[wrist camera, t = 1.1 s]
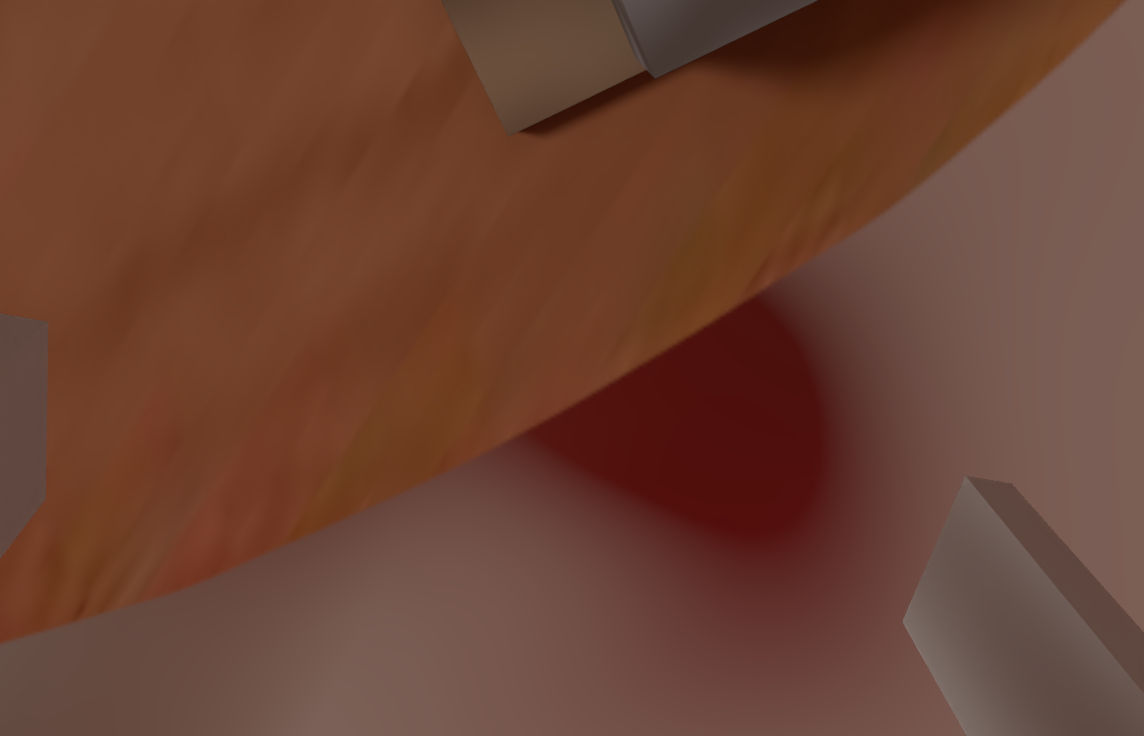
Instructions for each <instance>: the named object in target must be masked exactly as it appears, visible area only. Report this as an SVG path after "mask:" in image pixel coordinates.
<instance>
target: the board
mask: <svg viewBox="0 0 1144 736" xmlns="http://www.w3.org/2000/svg"><path fill="white" fill-rule="evenodd" d="M441 1H442V3H443V5H444V7H445V9H446V11H447V13H448V15H449V17H450V19H451V21H452V23H453V25H454V27H455V29H456V31H457V33H458V35H459V37H460V39H461V42H462V44H463V46H464V48H465V50H466V52H467V54H468V56H469V58H470V60H471V62H472V64H473V66H474V68H475V70H476V72H477V74H478V76H479V78H480V80H481V82H482V84H483V86H484V88H485V90H486V92H487V95H488V97H489V99H490V101H491V103H492V105H493V107H494V109H495V111H496V113H497V115H498V117H499V119H500V121H501V123H502V125H503V127H504V129H505V131H506V133H507V135H508V137H509V136H511V135H513V134H515V133H517V132H519V131H521V130H523V129H525V128H527V127H529V126H531V125H533V124H536V123H538V122H540V121H542V120H544V119H546V118H548V117H550V116H552V115H554V114H556V113H558V112H560V111H562V110H564V109H566V108H569V107H571V106H573V105H575V104H577V103H579V102H581V101H583V100H585V99H587V98H589V97H591V96H593V95H595V94H597V93H599V92H602V91H604V90H606V89H608V88H610V87H612V86H614V85H616V84H618V83H620V82H622V81H624V80H626V79H628V78H630V77H632V76H635V75H637V74H639V73H641V72H643V71H645V70H647V71H648V72H649V73H650V74H651V75H652V76H653V77H654V78H655V79H656V78H658V77H660V76H662V75H664V74H666V73H668V72H670V71H672V70H674V69H676V68H678V67H681V66H683V65H685V64H687V63H689V62H691V61H693V60H695V59H697V58H699V57H701V56H703V55H705V54H707V53H709V52H712V51H714V50H716V49H718V48H720V47H722V46H724V45H726V44H728V43H730V42H732V41H734V40H736V39H738V38H741V37H743V36H745V35H747V34H749V33H751V32H753V31H755V30H757V29H759V28H761V27H763V26H765V25H767V24H769V23H772V22H774V21H776V20H778V19H780V18H782V17H784V16H786V15H788V14H790V13H792V12H794V11H796V10H798V9H801V8H803V7H805V6H807V5H809V4H811V3H813V2H815V1H817V0H441Z"/></svg>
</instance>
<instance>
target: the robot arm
mask: <svg viewBox="0 0 1144 736" xmlns="http://www.w3.org/2000/svg"><path fill="white" fill-rule="evenodd" d="M47 363H48V322H47V321H41V320H35V319H29V318H23V317H17V316H11V315H6V314H0V558H1V557H2V555H3V554H4V553H5V552H6V550H7V549H8V548H9V546H10V545H11V544H12V542H13V541H14V540H15V538H16V537H17V536H18V534H19V533H20V532H21V531H22V529H23V528H24V527H25V525H26V524H27V523H28V521H29V520H30V519H31V517H32V516H33V515H34V513H35V512H36V511H37V510H38V508H39V507H40V506H41V504H42V503H43V502H44V500H45V498H46V431H47ZM903 624H904V626H905V627H906V629H907V631H908V633H909V634H910V636H911V638H912V640H913V641H914V643H915V645H916V647H917V649H918V650H919V652H920V654H921V656H922V657H923V659H924V661H925V663H926V665H927V666H928V668H929V670H930V671H931V673H932V675H933V677H934V678H935V680H936V682H937V684H938V686H939V688H940V689H941V691H942V693H943V695H944V696H945V698H946V700H947V702H948V703H949V705H950V707H951V709H952V711H953V712H954V714H955V716H956V718H957V719H958V721H959V723H960V725H961V727H962V728H963V730H964V732H965V734H966V735H967V736H1144V632H1143V631H1142V630H1141V629H1140V628H1139V626H1138V625H1137V624H1136V623H1135V622H1134V621H1133V620H1132V619H1131V617H1130V616H1129V615H1128V614H1127V613H1126V612H1125V611H1124V610H1123V609H1122V607H1121V606H1120V605H1119V604H1118V603H1117V602H1116V601H1115V599H1114V598H1113V597H1112V596H1111V595H1110V594H1109V593H1108V592H1107V591H1106V589H1105V588H1104V587H1103V586H1102V585H1101V584H1100V583H1099V581H1098V580H1097V579H1096V578H1095V577H1094V576H1093V575H1092V574H1091V572H1090V571H1089V570H1088V569H1087V568H1086V567H1085V566H1084V565H1083V563H1082V562H1081V561H1080V560H1079V559H1078V558H1077V557H1076V555H1075V554H1074V553H1073V552H1072V551H1071V550H1070V549H1069V548H1068V546H1067V545H1066V544H1065V543H1064V542H1063V541H1062V540H1061V539H1060V538H1059V536H1058V535H1057V534H1056V533H1055V532H1054V531H1053V530H1052V529H1051V527H1050V526H1049V525H1048V524H1047V523H1046V522H1045V521H1044V520H1043V518H1042V517H1041V516H1040V515H1039V514H1038V513H1037V512H1036V511H1035V509H1034V508H1033V507H1032V506H1031V505H1030V504H1029V503H1028V502H1027V500H1026V499H1025V498H1024V497H1023V496H1022V495H1021V494H1020V493H1019V491H1018V490H1017V489H1016V488H1015V487H1014V486H1013V485H1012V484H1011V483H1004V482H999V481H993V480H987V479H981V478H974V477H969V476H965V478H964V480H963V483H962V485H961V487H960V490H959V492H958V494H957V497H956V499H955V501H954V504H953V506H952V508H951V510H950V513H949V515H948V517H947V520H946V522H945V524H944V527H943V529H942V531H941V534H940V536H939V538H938V541H937V543H936V545H935V548H934V550H933V552H932V554H931V557H930V559H929V561H928V564H927V566H926V568H925V571H924V573H923V575H922V578H921V580H920V582H919V585H918V587H917V589H916V592H915V594H914V596H913V599H912V601H911V603H910V606H909V608H908V610H907V612H906V615H905V617H904V620H903Z"/></svg>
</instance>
